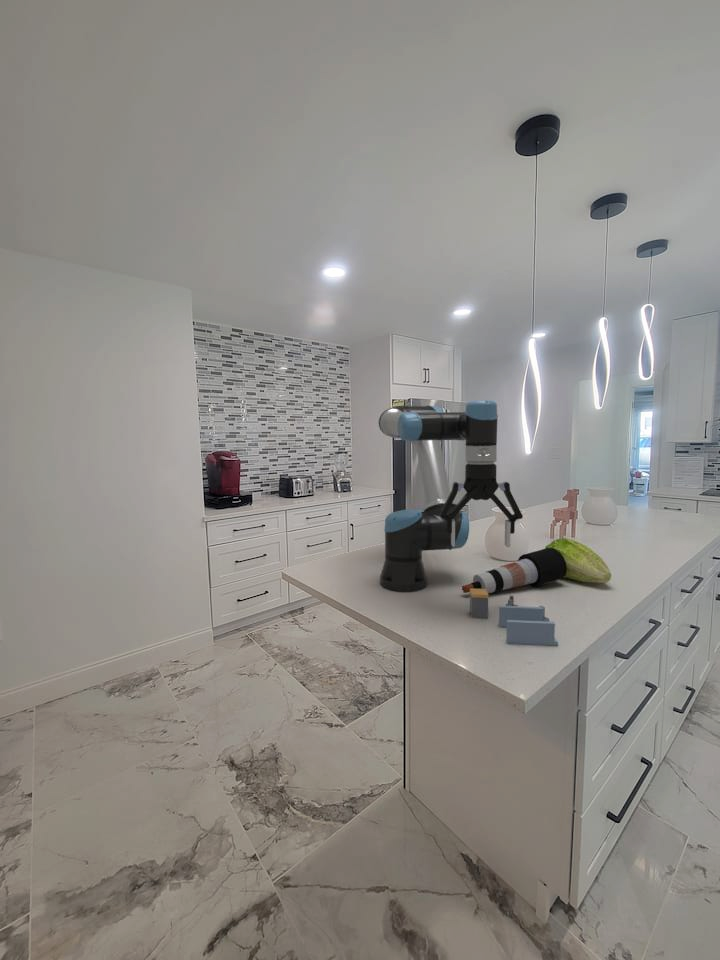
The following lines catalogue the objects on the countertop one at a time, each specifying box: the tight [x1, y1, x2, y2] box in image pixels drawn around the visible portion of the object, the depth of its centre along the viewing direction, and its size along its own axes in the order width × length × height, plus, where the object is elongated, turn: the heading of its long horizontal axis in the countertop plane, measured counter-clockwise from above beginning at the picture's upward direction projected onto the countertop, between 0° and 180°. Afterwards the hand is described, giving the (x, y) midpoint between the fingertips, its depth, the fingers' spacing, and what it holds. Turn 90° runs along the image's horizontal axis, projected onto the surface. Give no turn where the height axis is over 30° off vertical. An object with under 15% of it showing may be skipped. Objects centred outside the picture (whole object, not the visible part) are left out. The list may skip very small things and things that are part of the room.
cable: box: [461, 548, 567, 595], centre depth 124 cm, size 10×34×10 cm, turn 110°
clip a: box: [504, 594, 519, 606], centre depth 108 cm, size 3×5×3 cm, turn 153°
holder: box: [498, 605, 559, 646], centre depth 94 cm, size 11×9×5 cm
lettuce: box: [544, 537, 612, 583], centre depth 131 cm, size 13×22×14 cm
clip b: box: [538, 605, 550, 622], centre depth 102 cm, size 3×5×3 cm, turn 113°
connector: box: [469, 588, 490, 620], centre depth 105 cm, size 4×4×6 cm
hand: (479, 545), depth 104 cm, fingers open, 13 cm apart
